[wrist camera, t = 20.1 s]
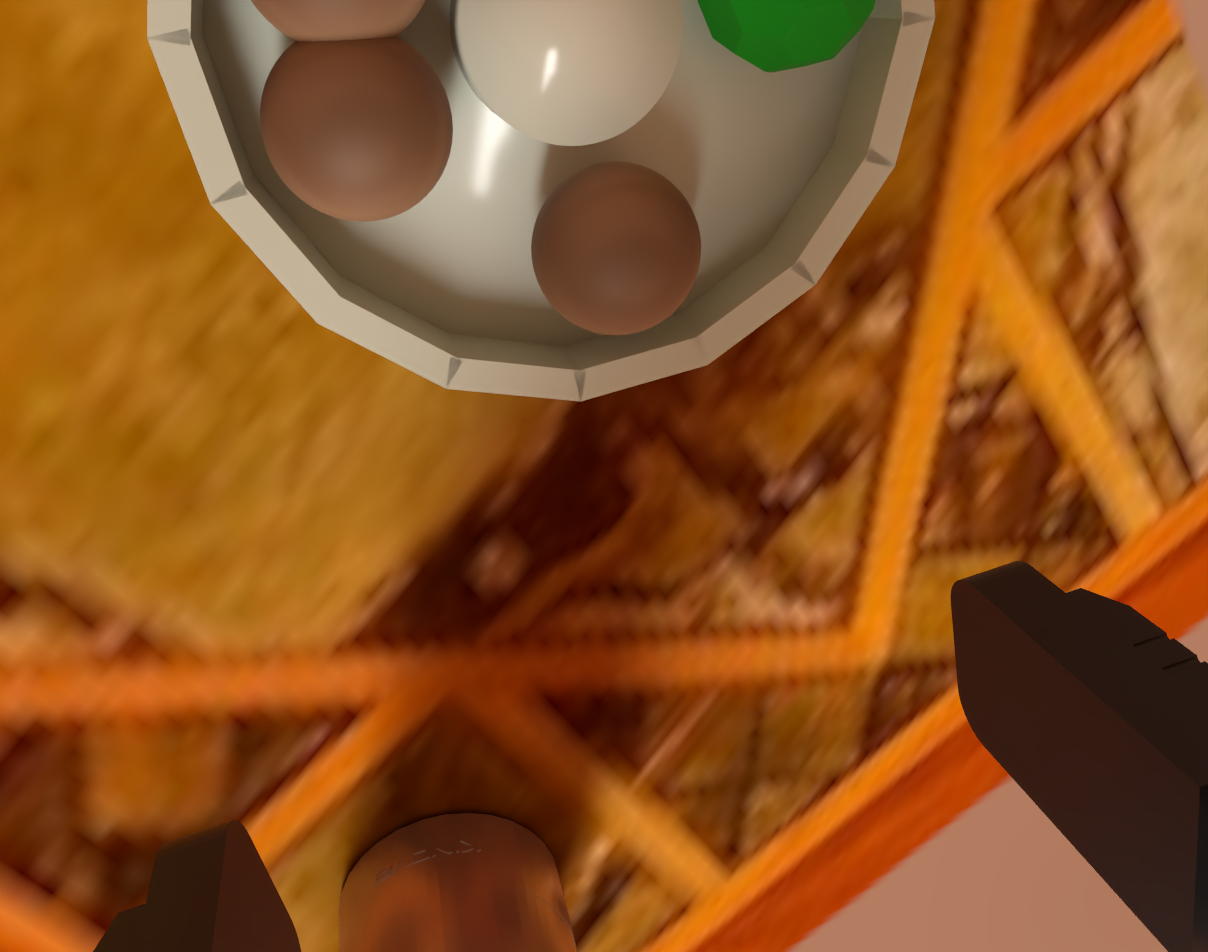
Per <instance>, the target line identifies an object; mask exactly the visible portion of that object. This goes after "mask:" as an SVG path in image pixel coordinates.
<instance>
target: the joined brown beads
mask: <svg viewBox="0 0 1208 952" xmlns="http://www.w3.org/2000/svg"><path fill="white" fill-rule="evenodd" d="M251 1H252V3H253V4H254V6H255V7H256V8H257V9H258V11H259V12H260V13H261V14H262V15H263V16H264V17H265V18H266V20H268V21H269V22H270V23H271V24H272V25H273V26H274V27H275V28H276V29H278V30H279V31H281V32H282V33H283V34H285V35H286V36H288V37H289V38H291V39H293V40H295V42H294V43H293V44H291V45H290V46H289V47H288V48H287V49H286V50H285V51H284V52H283V53H282V55H281V56H280V57H279V58H278V60H277V61H276V62H275V64H274V66H273V68H272V69H271V71H270V73H269V75H268V78H267V80H266V83H265V85H264V89H263V93H262V97H261V106H260V126H261V133H262V139H263V142H264V146H265V149H266V152H267V154H268V157H269V159H270V161H271V163H272V165H273V167H274V169H275V170H276V172H277V174H278V175H279V177H280V178H281V179H282V181H283V182H284V183H285V185H286V186H287V187H288V188H289V189H290V190H291V191H292V192H293V193H294V194H295V195H296V196H298V197H299V198H300V199H301V200H302V201H304V202H305V203H307V204H308V205H310V206H311V207H313V208H314V209H316V210H318V211H320V212H323V213H325V214H327V215H330V216H333V217H336V218H339V219H344V220H349V221H360V222H367V221H378V220H383V219H387V218H390V217H393V216H396V215H399V214H401V213H403V212H405V211H407V210H409V209H410V208H412V207H413V206H415V205H416V204H418V203H419V202H420V201H421V200H422V199H424V198H425V197H426V196H427V195H428V194H429V193H430V191H431V190H432V189H433V188H434V187H435V185H436V184H437V182H438V181H439V179H440V178H441V176H442V174H443V172H444V169H445V167H446V165H447V162H448V159H449V156H450V152H451V146H452V138H453V123H452V114H451V109H450V104H449V100H448V97H447V94H446V91H445V89H444V87H443V85H442V83H441V81H440V78H439V77H438V75H437V74H436V72H435V71H434V69H433V67H432V66H431V65H430V64H429V62H428V61H427V60H426V59H425V58H424V56H423V55H421V54H420V53H419V52H418V51H417V50H416V49H415V48H414V47H413V46H411V45H410V44H409V43H407V42H406V41H405V40H403V39H401V38H400V37H398V35H399V34H400V33H401V32H402V31H403V30H405V29H406V28H407V27H408V26H409V25H410V23H411V22H412V21H413V20H414V19H415V17H416V16H417V15H418V13H419V11H420V10H421V8H422V6H423V5H424V3H425V0H251Z"/></svg>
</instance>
